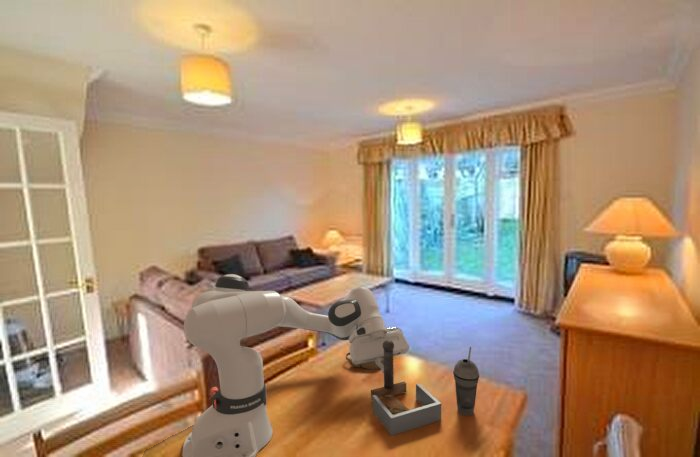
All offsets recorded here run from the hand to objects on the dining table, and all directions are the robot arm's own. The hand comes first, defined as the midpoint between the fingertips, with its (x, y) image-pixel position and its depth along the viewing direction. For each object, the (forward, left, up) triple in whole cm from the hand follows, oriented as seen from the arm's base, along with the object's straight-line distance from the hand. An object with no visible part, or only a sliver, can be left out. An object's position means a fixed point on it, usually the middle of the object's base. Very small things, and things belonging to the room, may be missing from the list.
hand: (387, 371), depth 115 cm
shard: (-2, -7, -8) cm, 10 cm away
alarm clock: (+2, +21, -8) cm, 23 cm away
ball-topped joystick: (-1, -2, -7) cm, 7 cm away
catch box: (-1, -13, -7) cm, 14 cm away
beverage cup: (+16, -18, -7) cm, 25 cm away
